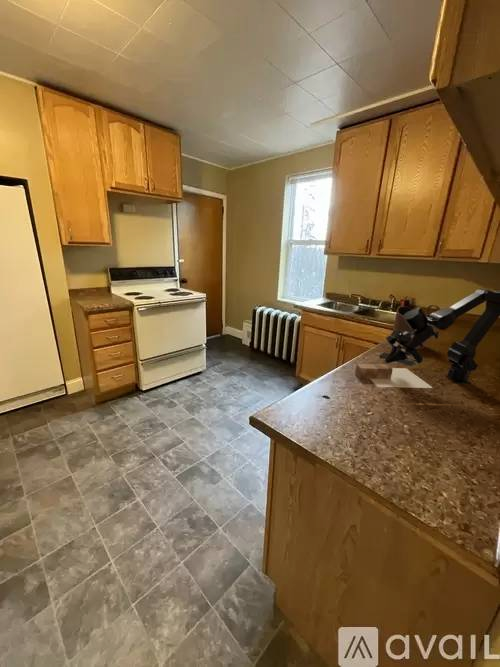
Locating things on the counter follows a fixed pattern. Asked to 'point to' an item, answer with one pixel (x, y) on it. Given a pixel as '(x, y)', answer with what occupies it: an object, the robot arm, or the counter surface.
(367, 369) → the walnut block
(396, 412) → the counter surface
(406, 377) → the cutting board
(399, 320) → the brown hollow rounded container
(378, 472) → the counter surface
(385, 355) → the phone
